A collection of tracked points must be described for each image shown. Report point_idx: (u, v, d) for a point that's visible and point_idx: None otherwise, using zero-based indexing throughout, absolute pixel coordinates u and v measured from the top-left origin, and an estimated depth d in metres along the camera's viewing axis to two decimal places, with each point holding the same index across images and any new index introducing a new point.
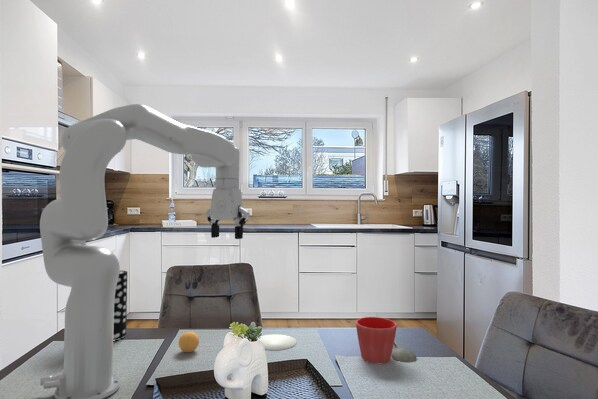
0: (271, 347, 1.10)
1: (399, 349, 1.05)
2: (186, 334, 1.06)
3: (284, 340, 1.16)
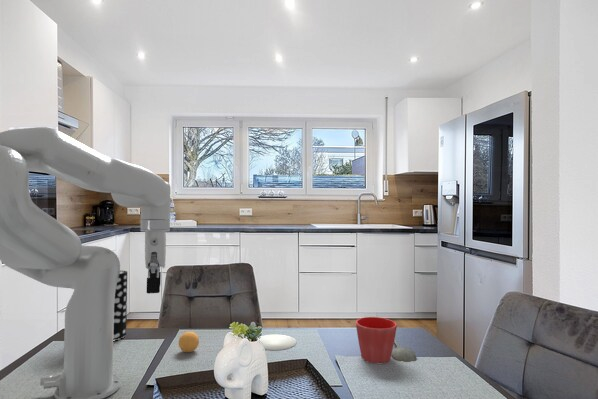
0: (271, 347, 1.10)
1: (399, 349, 1.05)
2: (186, 334, 1.06)
3: (284, 340, 1.16)
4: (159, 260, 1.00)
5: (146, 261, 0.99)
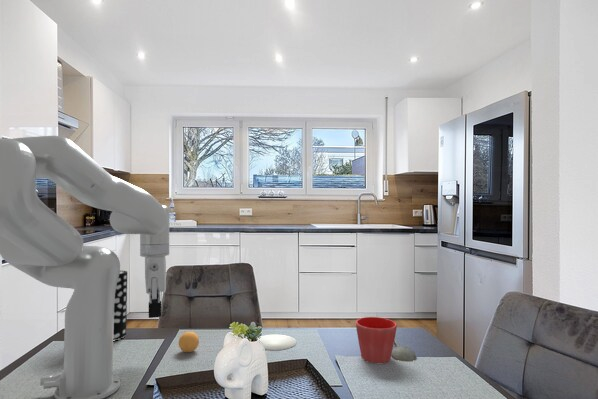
0: (271, 347, 1.10)
1: (399, 348, 1.05)
2: (186, 334, 1.06)
3: (284, 340, 1.16)
4: None
5: (147, 287, 1.00)
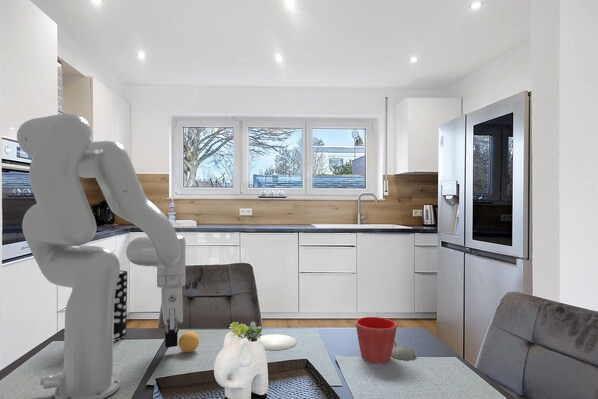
0: (271, 347, 1.10)
1: (398, 348, 1.06)
2: (186, 334, 1.06)
3: (284, 340, 1.16)
4: None
5: (165, 318, 1.01)
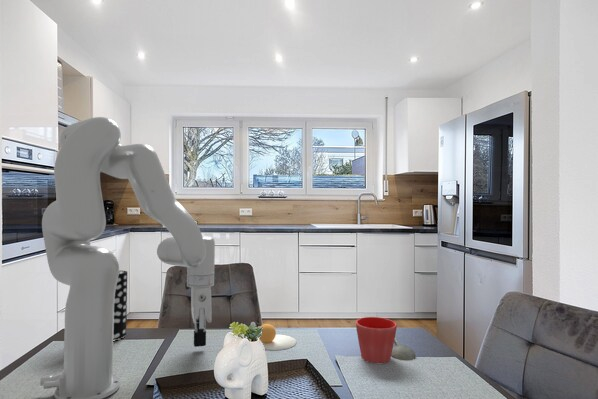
0: (271, 347, 1.10)
1: (398, 347, 1.06)
2: (275, 332, 1.15)
3: (284, 340, 1.16)
4: None
5: (194, 317, 1.03)
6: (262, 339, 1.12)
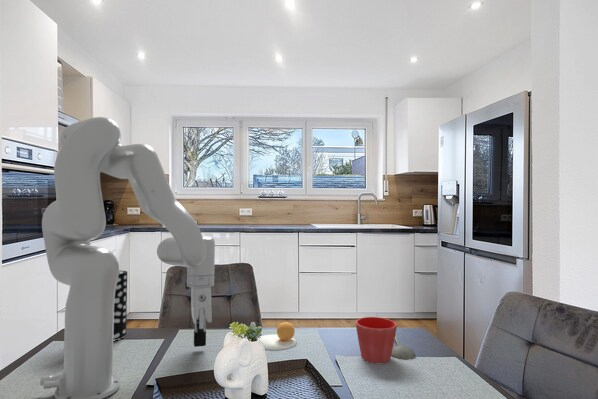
0: (271, 347, 1.10)
1: (398, 347, 1.07)
2: None
3: None
4: None
5: (194, 317, 1.03)
6: (288, 326, 1.15)
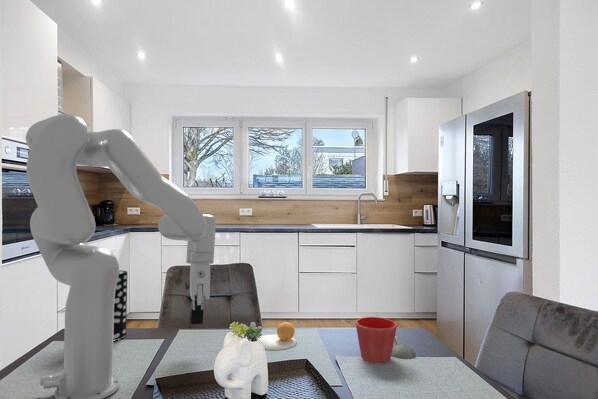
0: (271, 347, 1.10)
1: (398, 346, 1.07)
2: None
3: None
4: None
5: (192, 293, 1.02)
6: (288, 326, 1.15)
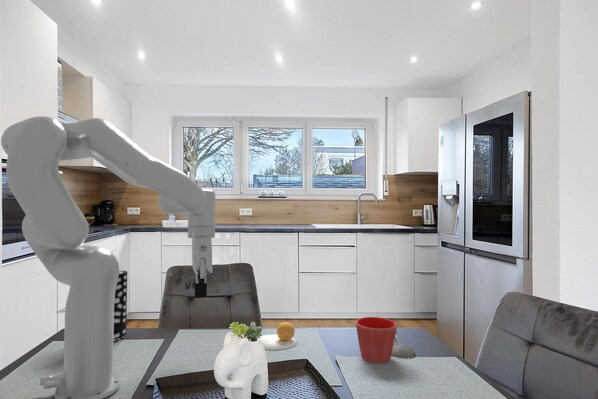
0: (271, 347, 1.10)
1: (398, 345, 1.07)
2: None
3: None
4: None
5: (195, 266, 1.03)
6: (288, 326, 1.15)
